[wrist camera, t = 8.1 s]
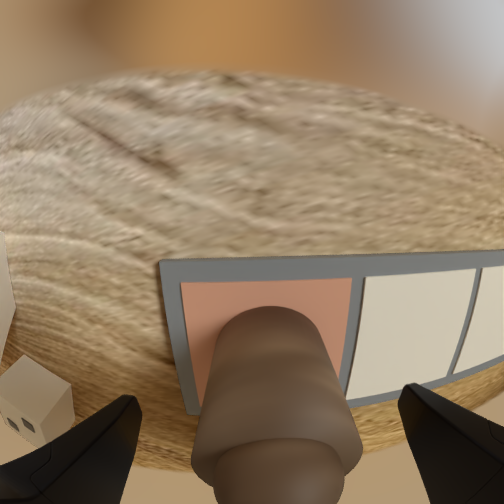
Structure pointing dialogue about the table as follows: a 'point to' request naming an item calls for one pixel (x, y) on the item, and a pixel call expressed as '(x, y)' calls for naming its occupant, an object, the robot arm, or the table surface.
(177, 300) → the game board
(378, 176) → the table surface
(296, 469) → the pawn
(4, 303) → the figurine
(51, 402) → the cream box with slots
